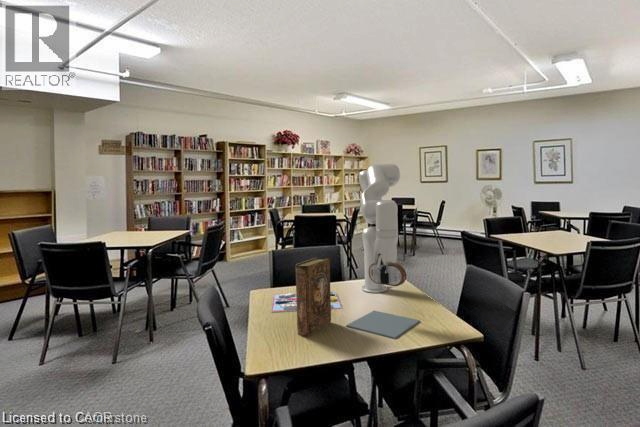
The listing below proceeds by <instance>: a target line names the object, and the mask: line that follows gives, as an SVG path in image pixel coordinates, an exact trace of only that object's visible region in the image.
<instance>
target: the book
mask: <svg viewBox="0 0 640 427" xmlns="http://www.w3.org/2000/svg"><path fill="white" fill-rule="evenodd" d="M330 263H331V262H330V258H319V257H313V258H310V259H308V260H305V261H302V262H300V263H299V262H298V263H295V294H296V299H297V311H296V316H297V317H296V323H297V324H296V325H297V327H296V328H297V335H298V336H301V337H307V338H308V337H311V336H313V335H314V334H316V333H317V332H319V331H320V330H322V329H323V328H324V327H326V326H328V325H329V324H330V323H331V321H332V309H331V295H330V292H331V266H330V265H331V264H330Z"/></svg>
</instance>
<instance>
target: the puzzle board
mask: <svg viewBox="0 0 640 427" xmlns="http://www.w3.org/2000/svg"><path fill="white" fill-rule="evenodd" d="M330 295H331V310H342V309H343V306H342V303H341V300H340V299H339V297H338V294H337V292H333V291H330ZM271 301H272V302H271V313H272V314H273V313H287V312H297V299H296V292H289V293H284V294H283V293H280V294H273V295H272V300H271Z"/></svg>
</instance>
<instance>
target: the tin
mask: <svg viewBox="0 0 640 427" xmlns="http://www.w3.org/2000/svg"><path fill="white" fill-rule="evenodd" d="M382 264H383V263H382ZM383 267H384V266H383ZM384 268H385V267H384ZM388 273H389V283H388V284H384V283H381V277H380V270H379V269H378V268H377V265H376V264H375V263H373V264H372V265H371V266H370V267H369V276H370V278H371V280H372V281H373V282H375V283H377V284H383V285H384V286H390V287H399V286H401V285H403V284H404V283H405V282H406V279H407V272H406V270H405V268H404V266H402V264H401V265H400V264H399V263H397V262H396V263H391V264H389V265H388Z"/></svg>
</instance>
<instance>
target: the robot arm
mask: <svg viewBox="0 0 640 427" xmlns="http://www.w3.org/2000/svg"><path fill="white" fill-rule="evenodd" d="M400 179H401V172H400V168H399V167H398V165H397V164H394V163H379V164H377V163H376V164H372V165H371V166H369V167H368V168H367V169H365V170H364V169H363V170H362V171H360V172H359V174H358V181H359V185H360V188H361V191H362V194H361V196H360V200H359V201H360V202H359V203H360V210H361V211H360V212H361V216H362V217H363V219H364V220H365V222H366V223H367V224H370V225H375V226H367V227H365V228H364V229H363V230H362V232H361V239H362V243H363V244H362V245H363V255H364V256H363V258H364V264H363V265H364V285H362V286H361V290H362V291H363V292H366V293H371V294H373V293H376V294H377V293H384V292H386V291H387V292H388V287H387V285H383V284H377V283H375V282H373V281H372V280H371V278H370V276H369V267H370V266H371V265H372V264H373V263H375V264H376V265H377V268H378V269H379V270H380V277H381V283H384V284H388V283H389V273H388V265H389V264H391V263H396V264H397V260H398V247H397V244H398V241H399V228H398V227H399V224H398V223H399V221H398V220H399V219H398V218H399V217H398V214H399V212H398V211H399V210H398V208H399V207H398V204H397V203H396V201H395V200H392V199H382V198H383V197H385V196H386V195H387V194H388V192H389V191H390V187H394V186H396V184H398V183H399V182H400ZM382 263H383V264H382ZM383 266H384V267H385V268H384V267H383Z"/></svg>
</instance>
